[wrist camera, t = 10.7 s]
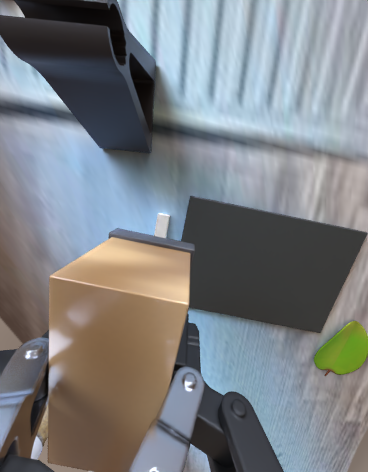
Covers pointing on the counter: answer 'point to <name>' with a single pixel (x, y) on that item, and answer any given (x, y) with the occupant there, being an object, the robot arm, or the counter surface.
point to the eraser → (113, 347)
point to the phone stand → (89, 66)
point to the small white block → (162, 225)
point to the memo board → (266, 263)
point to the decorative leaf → (344, 350)
